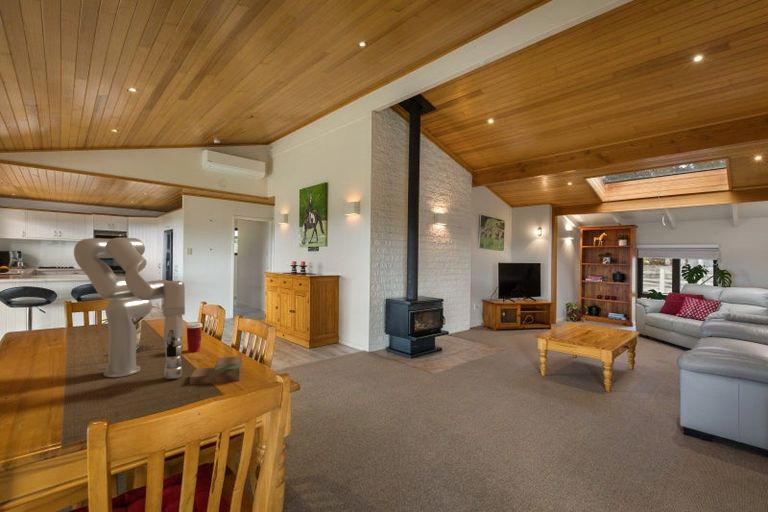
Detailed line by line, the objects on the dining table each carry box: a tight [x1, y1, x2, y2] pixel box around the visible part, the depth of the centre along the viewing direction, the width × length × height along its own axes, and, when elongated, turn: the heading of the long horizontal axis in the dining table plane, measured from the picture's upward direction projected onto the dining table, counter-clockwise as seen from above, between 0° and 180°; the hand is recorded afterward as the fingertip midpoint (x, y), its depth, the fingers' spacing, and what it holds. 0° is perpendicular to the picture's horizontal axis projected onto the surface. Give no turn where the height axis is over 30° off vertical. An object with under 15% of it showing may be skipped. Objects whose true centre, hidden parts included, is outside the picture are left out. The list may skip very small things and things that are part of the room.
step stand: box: [189, 356, 243, 386], centre depth 148 cm, size 18×10×7 cm, turn 107°
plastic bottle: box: [163, 338, 183, 380], centre depth 147 cm, size 6×7×20 cm
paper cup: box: [185, 322, 203, 353], centre depth 186 cm, size 8×8×14 cm
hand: (174, 353), depth 147 cm, fingers open, 9 cm apart
